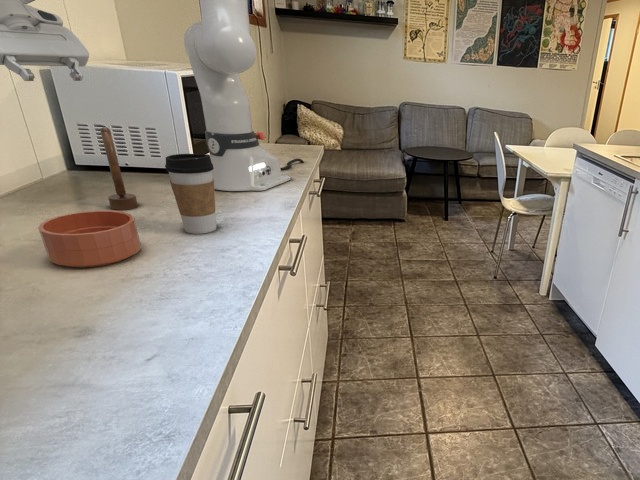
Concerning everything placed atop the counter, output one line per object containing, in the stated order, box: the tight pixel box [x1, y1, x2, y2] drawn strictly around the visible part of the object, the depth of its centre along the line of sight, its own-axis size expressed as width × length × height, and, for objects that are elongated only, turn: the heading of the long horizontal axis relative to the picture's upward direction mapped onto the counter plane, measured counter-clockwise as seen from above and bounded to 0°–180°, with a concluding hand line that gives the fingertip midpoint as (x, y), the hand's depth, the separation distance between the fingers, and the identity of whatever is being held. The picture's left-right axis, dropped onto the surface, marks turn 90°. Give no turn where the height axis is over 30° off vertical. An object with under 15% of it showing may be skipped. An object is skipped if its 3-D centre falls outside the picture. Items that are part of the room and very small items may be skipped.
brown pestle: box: [99, 126, 139, 211], centre depth 103 cm, size 5×5×17 cm
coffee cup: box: [164, 153, 217, 235], centre depth 94 cm, size 8×8×15 cm
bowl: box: [37, 210, 142, 268], centre depth 82 cm, size 13×13×6 cm
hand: (55, 79), depth 100 cm, fingers open, 8 cm apart
